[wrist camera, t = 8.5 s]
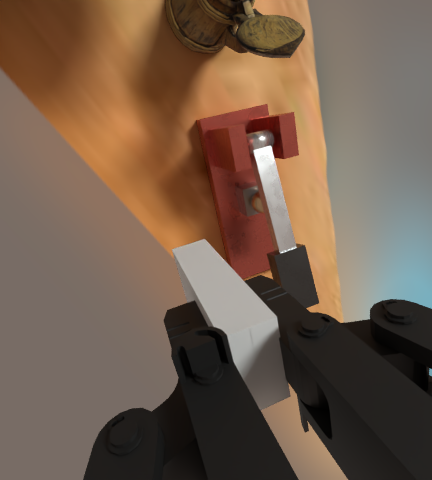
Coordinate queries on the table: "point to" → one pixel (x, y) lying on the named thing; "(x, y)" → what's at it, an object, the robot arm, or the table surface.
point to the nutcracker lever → (280, 224)
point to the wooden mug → (232, 27)
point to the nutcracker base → (243, 181)
